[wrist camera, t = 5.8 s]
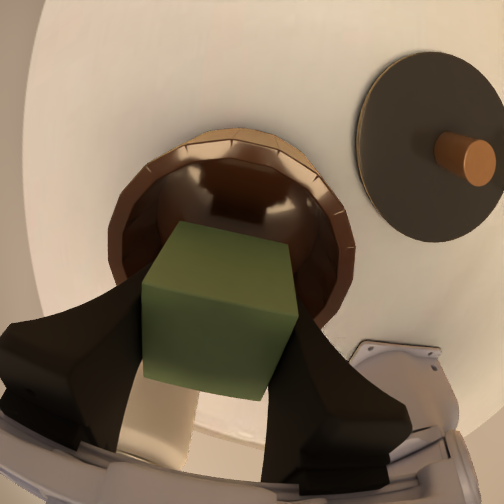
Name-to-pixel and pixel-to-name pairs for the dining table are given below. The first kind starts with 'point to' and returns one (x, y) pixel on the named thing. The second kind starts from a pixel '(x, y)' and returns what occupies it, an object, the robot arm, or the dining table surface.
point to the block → (217, 311)
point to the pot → (240, 210)
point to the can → (158, 423)
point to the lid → (432, 146)
